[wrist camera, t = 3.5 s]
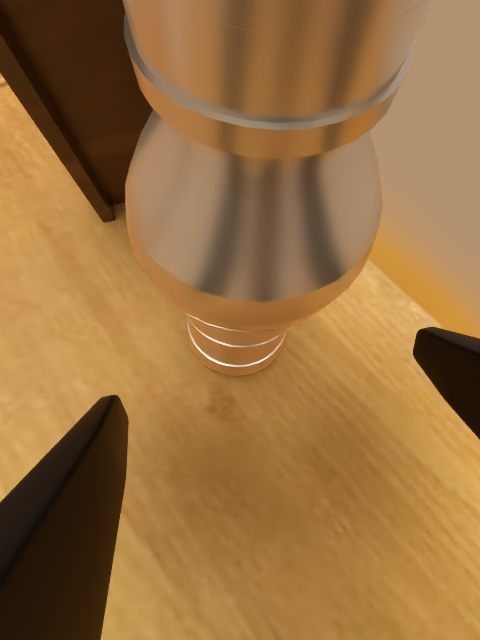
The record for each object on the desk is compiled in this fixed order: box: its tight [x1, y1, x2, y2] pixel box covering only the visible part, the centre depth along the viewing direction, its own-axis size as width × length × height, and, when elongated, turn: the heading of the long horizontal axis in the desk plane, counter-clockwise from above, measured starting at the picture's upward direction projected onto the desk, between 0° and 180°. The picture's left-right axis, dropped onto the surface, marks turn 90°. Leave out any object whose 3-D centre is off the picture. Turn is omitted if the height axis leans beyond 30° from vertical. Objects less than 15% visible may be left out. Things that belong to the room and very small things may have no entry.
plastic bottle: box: [122, 0, 435, 376], centre depth 12 cm, size 6×7×20 cm
